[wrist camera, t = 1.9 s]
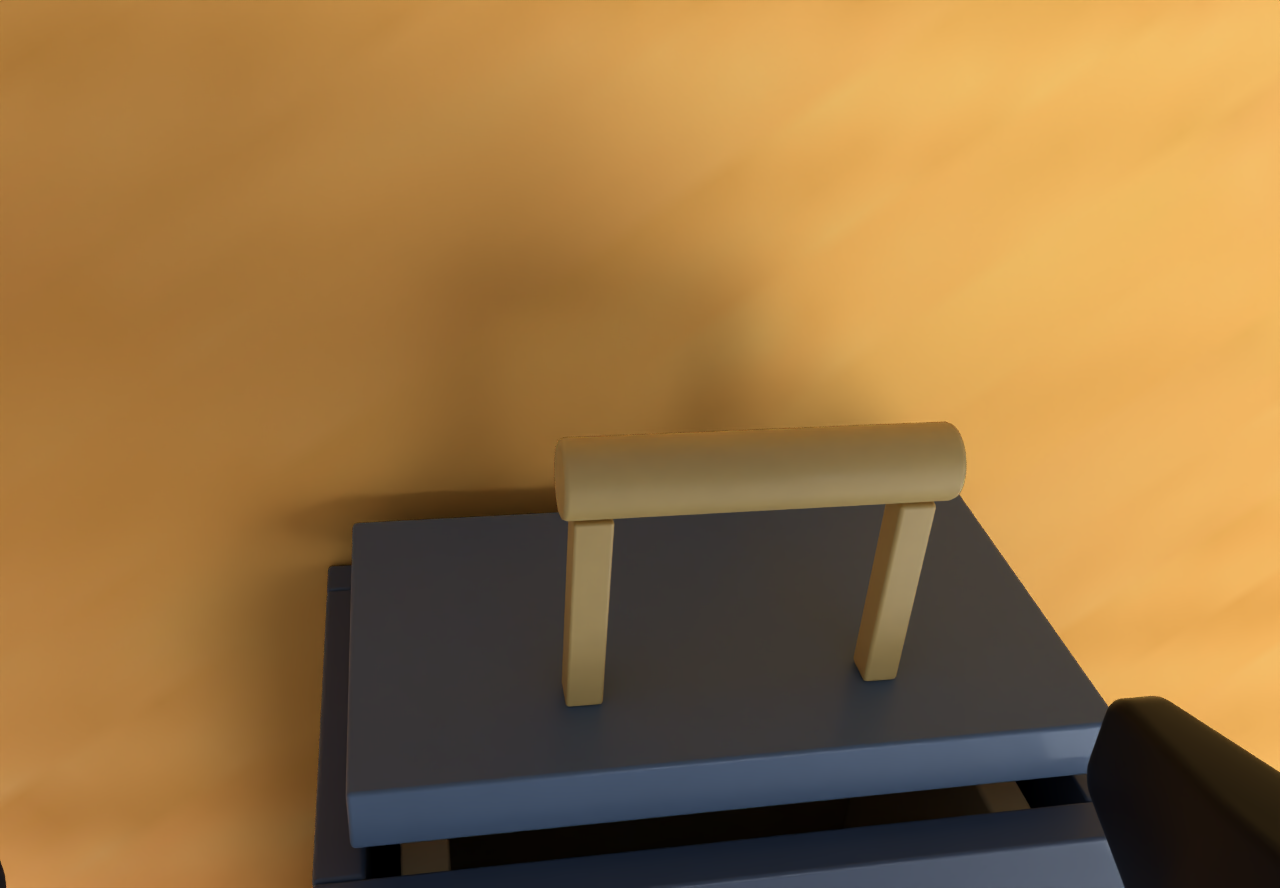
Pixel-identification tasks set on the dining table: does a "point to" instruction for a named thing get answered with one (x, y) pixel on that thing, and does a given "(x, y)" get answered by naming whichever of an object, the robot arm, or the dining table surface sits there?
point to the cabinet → (737, 869)
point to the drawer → (701, 654)
